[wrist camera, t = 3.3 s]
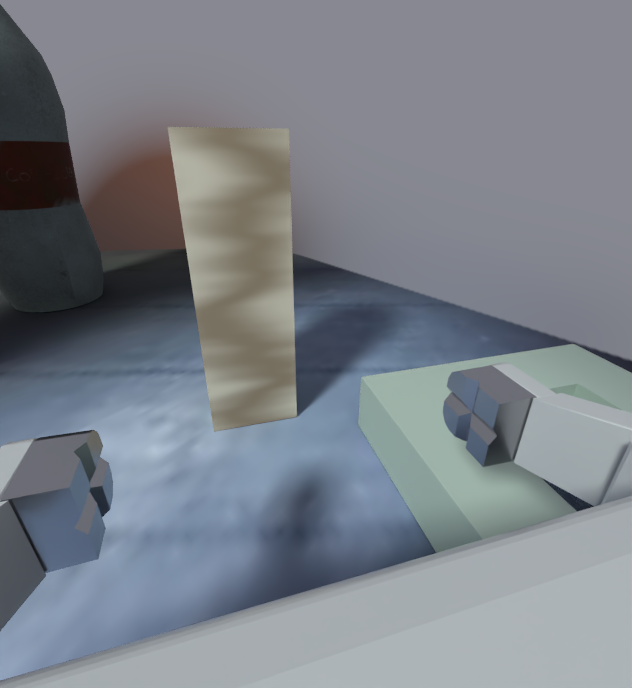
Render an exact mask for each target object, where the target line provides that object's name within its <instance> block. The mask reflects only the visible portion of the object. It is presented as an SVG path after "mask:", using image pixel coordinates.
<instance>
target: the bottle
mask: <svg viewBox="0 0 632 688" xmlns="http://www.w3.org/2000/svg"><path fill="white" fill-rule="evenodd" d="M103 279H104V277H103V269H102V261H101V253H100V250H99V248H98V245H97V243H96V240H95V237H94V235H93V232H92V230H91V227H90V225H89V222H88V220H87V218H86V215H85V213H84V210H83V208H82V205H81V204H80V200H79V194H78V189H77V184H76V178H75V173H74V167H73V162H72V157H71V151H70V146H69V140H68V133H67V126H66V119H65V112H64V108H63V106H62V103H61V101H60V97H59V95H58V92H57V89H56V86H55V84H54V81H53V78H52V75H51V73H50V71H49V70H48V67H47V65H46V63H45V62H44V60H43V58H42V56H41V54H40V53H39V52H38V50H37V49H36V48H35V47H34V45H33V44H32V43H31V42H30V41H29V39H28V38H27V37H26V36H25V34H24V33H23V32H22V31H21V29H20V28H19V27H18V26H17V25H16V23H15V22H14V21H13V20H12V18H11V17H10V16H9V15H8V13H7V12H6V11H5V10H4V9H3V7H2V6H1V5H0V289H1V291H2V292H3V294H4V296H5V297H6V299H7V300H8V301H9V302H10V304H11V305H12V306H13V307H14V309H16V310H19V311H22V312H32V313H34V312H51V311H59V310H65V309H69V308H74V307H78V306H81V305H84V304H87V303H90V302H92V301H94V300H96V299H98V298H99V297H100V296H101V295H102V294H103Z"/></svg>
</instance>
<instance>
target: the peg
mask: <svg viewBox="0 0 632 688" xmlns="http://www.w3.org/2000/svg"><path fill="white" fill-rule="evenodd" d="M168 132H169V138H170V146H171V152H172V159H173V165H174V172H175V178H176V185H177V191H178V198H179V204H180V211H181V217H182V224H183V231H184V237H185V244H186V251H187V257H188V264H189V270H190V277H191V283H192V290H193V297H194V303H195V310H196V316H197V323H198V329H199V336H200V343H201V349H202V356H203V362H204V369H205V375H206V382H207V389H208V395H209V402H210V408H211V415H212V421H213V428H214V431H219V430H225V429H231V428H236V427H242V426H248V425H253V424H259V423H265V422H270V421H276V420H282V419H287V418H293V417H297V401H296V366H295V331H294V296H293V260H292V225H291V194H290V193H291V190H290V158H289V157H290V156H289V129H270V128H269V129H268V128H267V129H266V128H203V127H199V128H197V127H168Z"/></svg>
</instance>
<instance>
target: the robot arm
mask: <svg viewBox="0 0 632 688" xmlns="http://www.w3.org/2000/svg"><path fill="white" fill-rule="evenodd" d="M447 388H448V389H449V391H450V394H449V396H448V397H447V398H446V399H445V401H444V405H443V416H444V421H445V424H446V426H447V427H448V429H449V431H450V432H451V433H452V434H453V435H454V436H455V437H457V438H459V439H461V440H464V441H466V449H467V450H468V452H469V453H470V454H471V455H472V456H473V457H474V458H475V459H476V460H477V461H478V462H479V463H480V464H481V465H482V467H487V466H492V465H496V464H501V463H506V462H511V461H514V463H515V464H517V465H519V466H521V467H523V468H525V469H526V470H528V471H530V472H532V473H534V474H536V475H537V476H539V477H541V478H543V479H545V480H547V481H548V482H550V483H552V484H554V485H556V486H558V487H559V488H561V489H563V490H565V491H567V492H569V493H570V494H572V495H574V496H576V497H578V498H580V499H582V500H583V501H585V502H587V503H589V504H591V505H593V506H594V507H591V508H588V509H585V510H581V511H578V512H574V513H571V514H567V515H564V516H561V517H557V518H554V519H550V520H547V521H544V522H540V523H537V524H533V525H530V526H527V527H523V528H520V529H516V530H513V531H510V532H506V533H503V534H499V535H496V536H493V537H489V538H486V539H483V540H479V541H476V542H472V543H469V544H466V545H462V546H459V547H455V548H452V549H449V550H445V551H442V552H438V553H435V554H431V555H428V556H425V557H421V558H418V559H414V560H411V561H407V562H404V563H401V564H397V565H394V566H390V567H387V568H384V569H380V570H377V571H373V572H370V573H366V574H363V575H360V576H356V577H353V578H349V579H346V580H342V581H339V582H336V583H332V584H329V585H325V586H322V587H319V588H315V589H312V590H308V591H305V592H301V593H298V594H295V595H291V596H288V597H284V598H281V599H278V600H274V601H271V602H267V603H264V604H260V605H257V606H254V607H250V608H247V609H243V610H240V611H237V612H233V613H230V614H226V615H223V616H219V617H216V618H213V619H209V620H206V621H202V622H199V623H196V624H192V625H189V626H185V627H182V628H179V629H175V630H172V631H168V632H165V633H161V634H158V635H155V636H151V637H148V638H144V639H141V640H138V641H134V642H131V643H127V644H124V645H121V646H117V647H114V648H110V649H107V650H103V651H100V652H97V653H93V654H90V655H86V656H83V657H80V658H76V659H73V660H69V661H66V662H63V663H59V664H56V665H52V666H49V667H45V668H42V669H39V670H35V671H32V672H28V673H25V674H22V675H18V676H15V677H11V678H8V679H5V680H1V681H0V688H632V413H629V412H626V411H622V410H619V409H616V408H612V407H609V406H605V405H602V404H598V403H595V402H591V401H588V400H584V399H581V398H577V397H574V396H571V395H567V394H564V393H559V394H556V393H554V392H553V391H551V390H550V389H548V388H547V387H545V386H544V385H542V384H541V383H539V382H538V381H536V380H535V379H533V378H532V377H530V376H529V375H527V374H526V373H524V372H522V371H521V370H519V369H518V368H516V367H515V366H513V365H512V364H510V363H505V362H502V363H497V364H492V365H487V366H484V367H478V368H472V369H467V370H461V371H455V372H452V373H451V375H450V376H449V378H448V383H447ZM102 447H103V445H102V442H101V439H100V437H99V434H98V433H97V432H96V431H95V430H90V431H83V432H76V433H69V434H62V435H55V436H48V437H41V438H38V439H35V438H34V439H28V440H22V441H16V442H9V443H7V444H5V445H3V446H2V447H1V448H0V631H1V629H2V628H3V627H4V626H5V625H6V623H7V622H8V621H9V620H10V619H11V617H12V616H13V615H14V614H15V613H16V611H17V610H18V609H19V608H20V607H21V605H22V604H23V603H24V602H25V601H26V599H27V598H28V597H29V596H30V595H31V593H32V592H33V591H34V590H35V588H36V587H37V586H38V585H39V584H40V582H41V581H42V580H43V579H44V578H45V576H46V574H45V573H48V572H51V571H55V570H59V569H63V568H66V567H70V566H74V565H78V564H82V563H85V562H89V561H93V560H97V559H98V558H99V554H100V549H101V545H102V541H103V537H104V533H105V529H106V528H105V525H104V522H103V519H102V517H103V516H104V515H105V514H106V513H107V512H108V511H109V510H110V507H111V502H112V498H113V480H112V474H111V470H110V466H109V463H108V462H106V461H105V460H103V459H102V458H100V454H101V451H102Z"/></svg>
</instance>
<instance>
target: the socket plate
mask: <svg viewBox="0 0 632 688" xmlns="http://www.w3.org/2000/svg"><path fill="white" fill-rule="evenodd" d="M502 362H505V363H510V364H512V365H513V366H515V367H516V368H518V369H519V370H521V371H522V372H524V373H526V374H527V375H529V376H530V377H532V378H533V379H535V380H536V381H538V382H539V383H541V384H542V385H544V386H545V387H547V388H548V389H550V390H551V391H553V392H554V393H556V394H559V393H564V394H567V395H571V396H574V397H577V398H581V399H584V400H588V401H591V402H595V403H598V404H602V405H605V406H609V407H612V408H616V409H619V410H622V411H626V412H629V413H632V373H631V372H629V371H627V370H625V369H623V368H621V367H619V366H617V365H615V364H613V363H611V362H609V361H607V360H605V359H603V358H601V357H599V356H597V355H595V354H593V353H591V352H589V351H587V350H585V349H583V348H581V347H579V346H577V345H575V344H569V345H563V346H557V347H550V348H544V349H537V350H531V351H525V352H518V353H512V354H505V355H499V356H493V357H486V358H480V359H474V360H467V361H461V362H454V363H448V364H442V365H435V366H429V367H422V368H416V369H410V370H403V371H397V372H391V373H384V374H378V375H371V376H365V377H361V389H360V405H359V422H358V425H359V427H360V428H361V430H362V431H363V433H364V435H365V436H366V438H367V440H368V441H369V443H370V445H371V446H372V448H373V450H374V451H375V453H376V455H377V456H378V458H379V459H380V461H381V463H382V464H383V466H384V468H385V469H386V471H387V473H388V474H389V476H390V478H391V479H392V481H393V483H394V484H395V486H396V487H397V489H398V491H399V492H400V494H401V496H402V497H403V499H404V501H405V502H406V504H407V506H408V507H409V509H410V511H411V512H412V514H413V516H414V517H415V519H416V520H417V522H418V524H419V525H420V527H421V529H422V530H423V532H424V534H425V535H426V537H427V539H428V540H429V542H430V544H431V545H432V547H433V548H434V550H435V552H436V553H438V552H442V551H445V550H449V549H452V548H455V547H459V546H462V545H466V544H469V543H472V542H476V541H479V540H483V539H486V538H489V537H493V536H496V535H499V534H503V533H506V532H510V531H513V530H516V529H520V528H523V527H527V526H530V525H533V524H537V523H540V522H544V521H547V520H550V519H554V518H557V517H561V516H564V515H567V514H571V513H574V512H577V511H576V510H575V509H574V508H573V507H572V506H571V505H570V504H569V503H567V502H566V501H565V500H564V499H563V498H562V497H561V496H560V495H559V494H558V493H557V492H556V491H555V490H554V489H552V488H551V487H550V486H549V485H548V484H547V483H546V482H545V481H544V480H543V479H542V478H541V477H539V476H537V475H536V474H534V473H532V472H530V471H528V470H526V469H525V468H523V467H521V466H519V465H517V464H515V463H514V461H511V462H506V463H501V464H496V465H492V466H487V467H482V465H481V464H480V463H479V462H478V461H477V460H476V459H475V458H474V457H473V456H472V455H471V454H470V453H469V452H468V450H467V449H466V441H464V440H461V439H459V438H457V437H455V436H454V435H453V434H452V433H451V432H450V431H449V429H448V427H447V426H446V424H445V421H444V416H443V405H444V401H445V399H446V398H447V397H448V396H449V394H450V391H449V389H448V388H447V383H448V378H449V376H450V375H451V373H452V372H455V371H461V370H467V369H472V368H478V367H484V366H487V365H492V364H497V363H502Z"/></svg>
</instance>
